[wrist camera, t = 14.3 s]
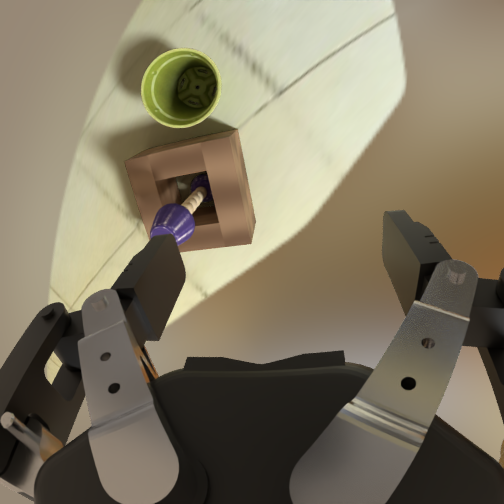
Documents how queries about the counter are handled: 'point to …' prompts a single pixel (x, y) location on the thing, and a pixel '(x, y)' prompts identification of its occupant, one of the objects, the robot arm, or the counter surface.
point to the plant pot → (176, 98)
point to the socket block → (221, 182)
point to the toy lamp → (182, 212)
